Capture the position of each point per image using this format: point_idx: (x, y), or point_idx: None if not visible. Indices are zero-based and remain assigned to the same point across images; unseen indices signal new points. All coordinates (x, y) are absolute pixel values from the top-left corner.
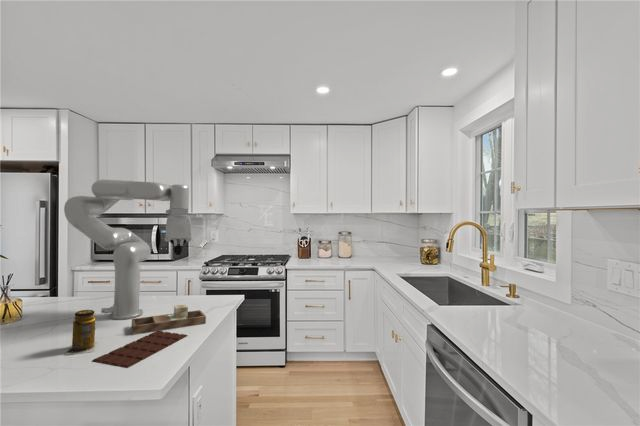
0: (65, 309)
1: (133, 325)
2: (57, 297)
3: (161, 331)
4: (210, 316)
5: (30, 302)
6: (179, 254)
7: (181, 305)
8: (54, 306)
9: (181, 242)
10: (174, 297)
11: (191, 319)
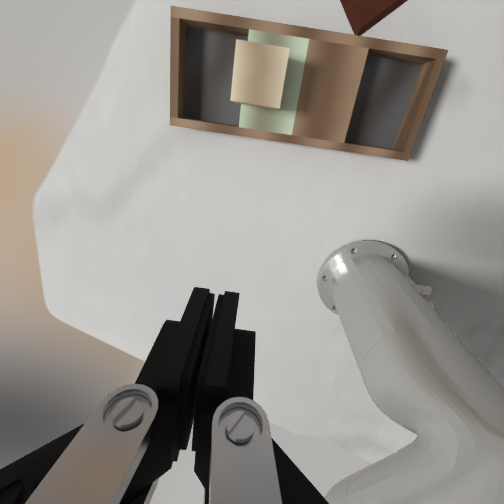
0: None
1: (442, 65)
2: None
3: (355, 3)
4: (141, 104)
5: None
6: (203, 288)
7: (251, 93)
8: None
9: (106, 455)
10: None
11: (232, 17)
